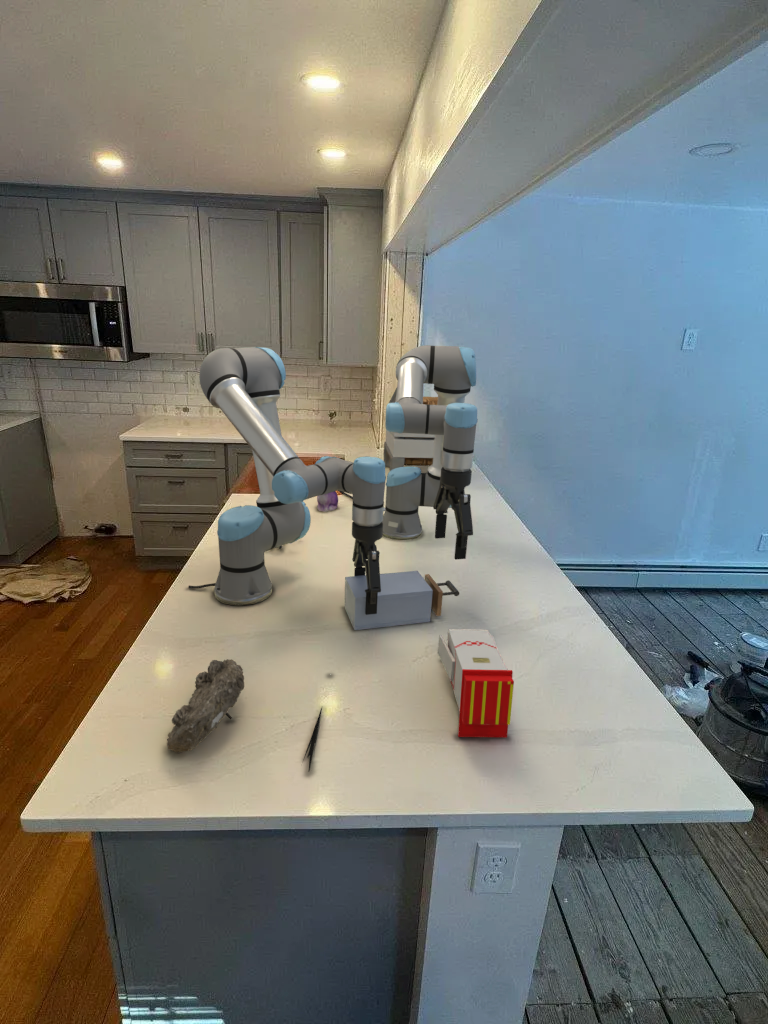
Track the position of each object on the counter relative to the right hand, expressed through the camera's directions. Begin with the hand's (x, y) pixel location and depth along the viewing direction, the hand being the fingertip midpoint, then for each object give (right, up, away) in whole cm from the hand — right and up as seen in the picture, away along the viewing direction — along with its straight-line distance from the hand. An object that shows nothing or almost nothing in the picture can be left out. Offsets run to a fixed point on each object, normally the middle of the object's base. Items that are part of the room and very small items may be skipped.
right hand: (449, 547), depth 146 cm
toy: (+1, -28, -27) cm, 39 cm away
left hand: (-22, -13, -2) cm, 26 cm away
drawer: (-10, -16, +3) cm, 19 cm away
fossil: (-50, -30, -38) cm, 69 cm away
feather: (-29, -31, -37) cm, 56 cm away
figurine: (-39, +11, +76) cm, 86 cm away
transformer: (0, +28, +129) cm, 132 cm away
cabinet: (-16, -17, +1) cm, 24 cm away
